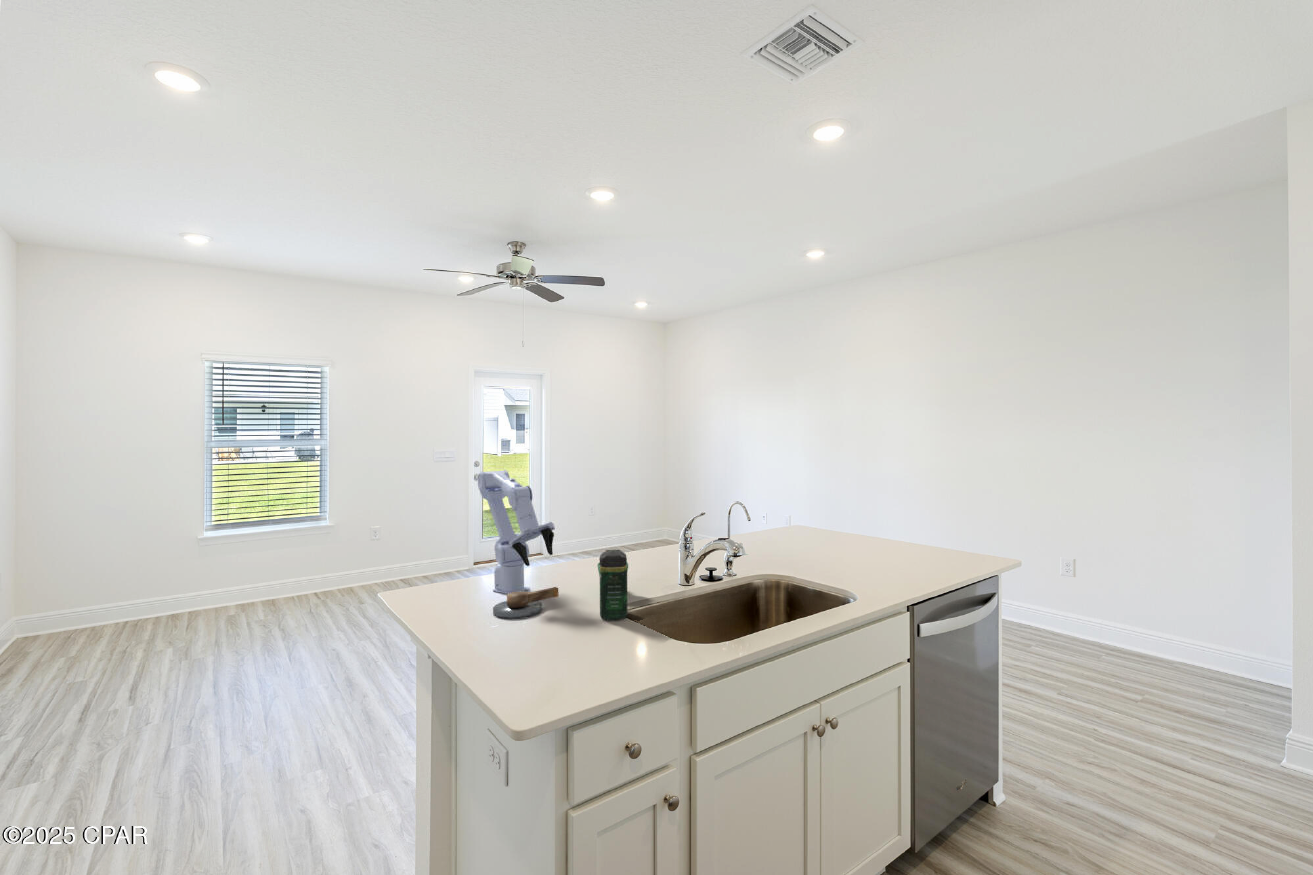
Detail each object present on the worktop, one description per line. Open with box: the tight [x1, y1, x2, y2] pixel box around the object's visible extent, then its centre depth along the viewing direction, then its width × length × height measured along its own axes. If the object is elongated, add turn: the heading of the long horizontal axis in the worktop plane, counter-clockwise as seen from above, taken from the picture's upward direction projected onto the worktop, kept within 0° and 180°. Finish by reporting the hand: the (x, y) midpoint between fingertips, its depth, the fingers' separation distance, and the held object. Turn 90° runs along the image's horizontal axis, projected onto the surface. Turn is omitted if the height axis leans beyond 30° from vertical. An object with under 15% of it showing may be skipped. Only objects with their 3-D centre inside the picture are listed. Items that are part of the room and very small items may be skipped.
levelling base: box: [492, 600, 543, 620], centre depth 174 cm, size 14×14×2 cm
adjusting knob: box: [506, 586, 559, 608], centre depth 177 cm, size 16×6×3 cm, turn 128°
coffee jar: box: [598, 549, 628, 622], centre depth 168 cm, size 10×8×19 cm
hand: (539, 559), depth 177 cm, fingers open, 7 cm apart
